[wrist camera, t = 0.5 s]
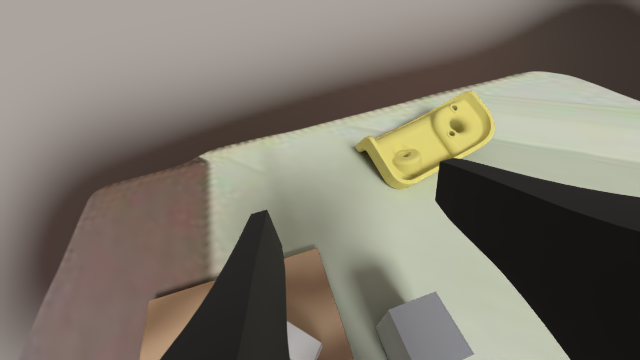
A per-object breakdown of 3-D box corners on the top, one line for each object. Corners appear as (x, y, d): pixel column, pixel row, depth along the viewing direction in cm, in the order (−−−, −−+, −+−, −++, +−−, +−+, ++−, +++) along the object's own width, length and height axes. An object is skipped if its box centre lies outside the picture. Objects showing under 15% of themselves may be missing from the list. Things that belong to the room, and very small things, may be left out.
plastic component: (401, 190, 30) (363, 128, 32) (381, 201, 37) (351, 150, 39) (506, 133, 34) (467, 82, 37) (470, 153, 42) (439, 109, 44)
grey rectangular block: (437, 361, 20) (474, 354, 15) (396, 379, 19) (420, 378, 14) (412, 312, 23) (435, 291, 17) (375, 327, 22) (388, 309, 17)
